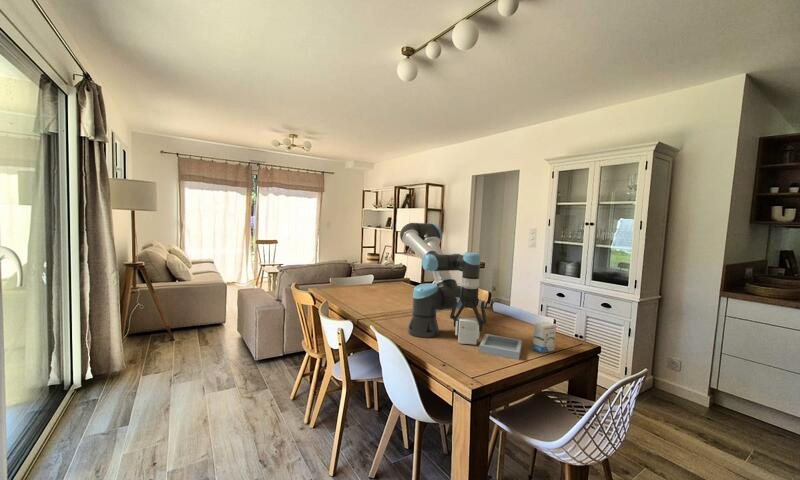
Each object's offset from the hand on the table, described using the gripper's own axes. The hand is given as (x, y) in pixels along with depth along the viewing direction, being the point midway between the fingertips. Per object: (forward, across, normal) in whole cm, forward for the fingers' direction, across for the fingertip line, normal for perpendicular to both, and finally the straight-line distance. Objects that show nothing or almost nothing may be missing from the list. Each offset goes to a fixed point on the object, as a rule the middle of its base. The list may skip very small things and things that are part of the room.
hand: (467, 336), depth 153 cm
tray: (+3, +15, 0) cm, 15 cm away
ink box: (+3, +32, +9) cm, 33 cm away
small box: (+3, 0, 0) cm, 3 cm away
